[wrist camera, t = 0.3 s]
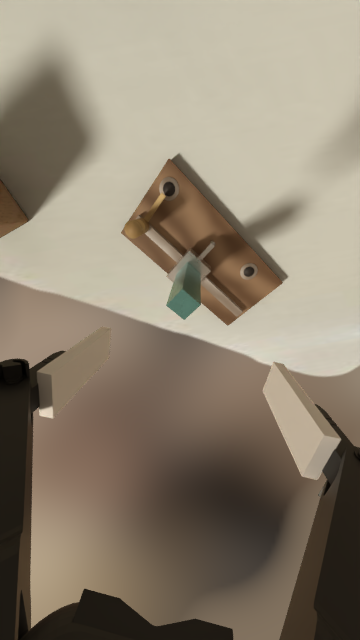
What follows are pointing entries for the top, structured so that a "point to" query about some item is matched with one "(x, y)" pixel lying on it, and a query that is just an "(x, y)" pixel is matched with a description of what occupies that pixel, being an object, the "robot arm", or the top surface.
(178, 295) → the sliding lever
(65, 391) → the robot arm
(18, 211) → the wooden block
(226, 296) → the hole plate
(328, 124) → the top surface
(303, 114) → the top surface
